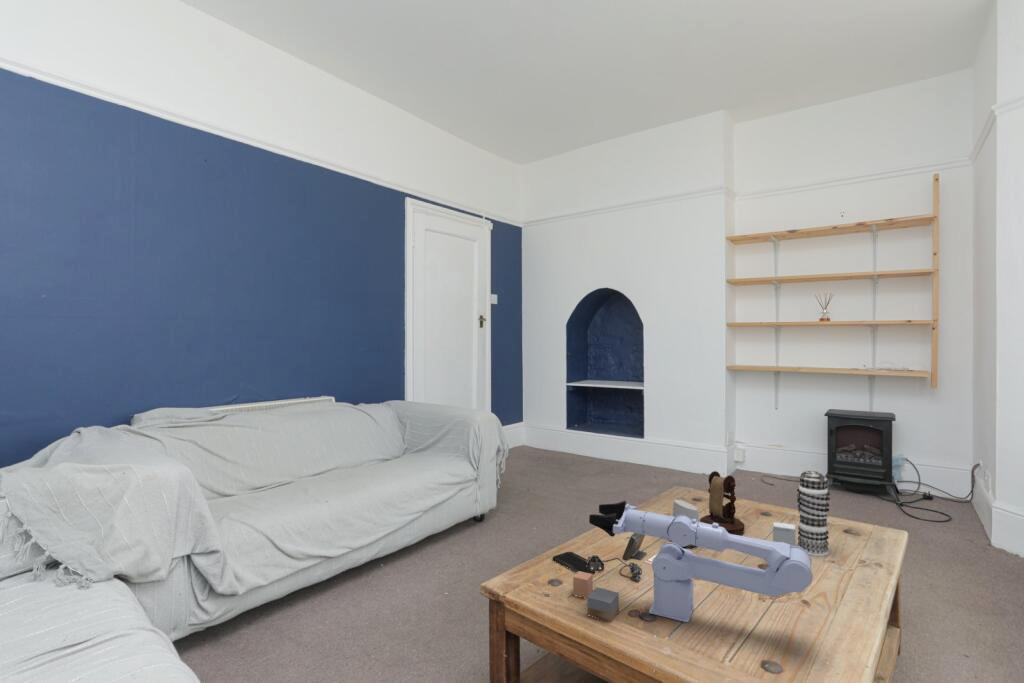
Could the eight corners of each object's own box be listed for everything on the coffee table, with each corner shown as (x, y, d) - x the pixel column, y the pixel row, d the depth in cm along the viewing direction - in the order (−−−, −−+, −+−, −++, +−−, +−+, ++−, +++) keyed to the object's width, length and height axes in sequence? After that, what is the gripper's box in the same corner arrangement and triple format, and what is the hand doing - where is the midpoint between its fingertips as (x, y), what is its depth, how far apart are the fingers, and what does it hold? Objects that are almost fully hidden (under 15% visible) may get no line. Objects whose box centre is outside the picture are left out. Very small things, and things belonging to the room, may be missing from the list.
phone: (569, 551, 167) (604, 567, 155) (569, 554, 167) (604, 571, 155) (550, 557, 163) (584, 574, 150) (550, 560, 163) (584, 578, 150)
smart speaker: (704, 549, 170) (704, 506, 170) (675, 549, 170) (675, 506, 170) (695, 538, 179) (695, 497, 179) (667, 538, 180) (667, 497, 179)
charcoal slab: (618, 602, 132) (618, 592, 132) (610, 613, 127) (610, 603, 127) (596, 596, 135) (596, 587, 135) (587, 607, 130) (587, 597, 130)
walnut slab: (618, 612, 132) (618, 602, 132) (611, 624, 127) (611, 613, 127) (596, 606, 135) (596, 596, 135) (587, 617, 130) (587, 607, 130)
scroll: (690, 526, 191) (690, 471, 190) (721, 519, 197) (721, 466, 197) (722, 540, 177) (722, 481, 177) (754, 533, 184) (754, 476, 183)
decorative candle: (828, 559, 162) (828, 478, 162) (794, 551, 168) (794, 473, 167) (831, 549, 169) (831, 472, 169) (799, 542, 175) (799, 467, 175)
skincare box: (772, 565, 158) (772, 525, 158) (772, 560, 162) (772, 521, 161) (795, 569, 155) (795, 529, 155) (795, 564, 159) (795, 524, 159)
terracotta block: (592, 592, 142) (592, 574, 142) (587, 599, 138) (587, 580, 138) (578, 589, 144) (578, 571, 144) (573, 595, 140) (573, 576, 140)
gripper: (652, 498, 141) (603, 490, 147) (638, 518, 128) (585, 508, 135) (652, 524, 141) (603, 514, 148) (637, 546, 129) (585, 535, 135)
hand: (594, 513), depth 141 cm, fingers open, 7 cm apart
